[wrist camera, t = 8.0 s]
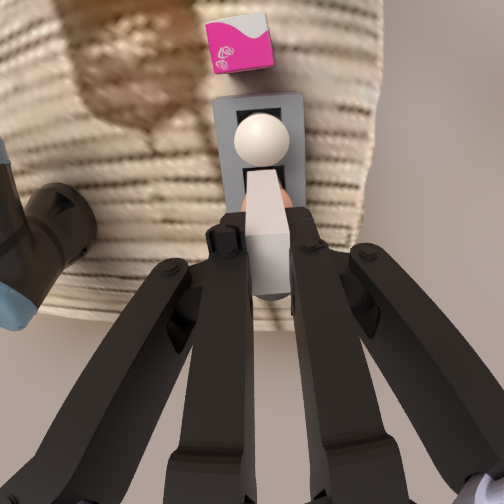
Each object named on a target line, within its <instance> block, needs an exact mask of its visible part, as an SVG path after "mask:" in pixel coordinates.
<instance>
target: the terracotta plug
mask: <svg viewBox="0 0 504 504" xmlns="http://www.w3.org/2000/svg"><path fill="white" fill-rule="evenodd" d="M274 169H275V168H274V167H272V166H265V167H255V168H254V169H253V170H252V171H260V170H274ZM275 170H276V169H275ZM276 174H277V178H278V183H279V187H280V191H281V196H282V200H283V204H284V208H287V207H293V205H292V201H291V198H290V196H289V194H288V193H287V191H286V190H285V189H283V188H282V184H281V180H280V176H279V173H278V171H277V170H276ZM246 195H247V193H246V194H245V196H244V198H243V201H242V210H241V212H245V211H246Z"/></svg>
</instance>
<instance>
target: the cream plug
mask: <svg viewBox="0 0 504 504" xmlns="http://www.w3.org/2000/svg"><path fill="white" fill-rule="evenodd" d="M234 144H235V148H236V151H237V153H238V155H239V156H240V157H241V158H242V159H243V160H244V161H245V162H247V163H249V164H251V165H253V166H258V167H265V166H270V165H273V164H275V163H277V162H278V161H280V160H281V159H282V158H283V157H284V156H285V154H286V152H287V150H288V147H289V134H288V131H287V129H286V128H285V126H284V124H283V123H282V122H281V121H280V120H279V119H278V118H276V117H275V116H272V115H271V114H270V113H269V112H267V111H265V110H254V111H252V112H250V113H249V114H248V115H247V116H246V118H245V119H244V120H243V121H242V122H241V123H240V124H239V126H238V128H237V130H236V133H235V137H234Z"/></svg>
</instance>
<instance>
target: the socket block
mask: <svg viewBox="0 0 504 504" xmlns="http://www.w3.org/2000/svg"><path fill="white" fill-rule="evenodd" d="M212 104H213V112H214V120H215V127H216V135H217V143H218V150H219V158H220V165H221V172H222V179H223V186H224V193H225V200H226V207H227V213H233V212H241V210H242V201H243V198H244V196H245V194H246V193H247V172H248V171H252V170H253V169H254V168H255V167H258V166H253V165H251V164H249V163H247V162H245V161H244V160H243V159H242V158H241V157H240V156H239V155H238V153H237V151H236V148H235V144H234V137H235V133H236V130H237V128H238V126H239V124H240V123H241V122H242V121H243V120H244V119H245V118H246V116H247V115H248V114H249V113H250V112H252V111H254V110H265V111H267V112H269V113H270V114H271V115H272V116H275V117H276V118H278V119H279V120H280V121H281V122H282V123H283V124H284V126H285V128H286V129H287V131H288V134H289V147H288V150H287V152H286V154H285V156H284V157H283V158H282V159H281V160H280V161H278V162H277V163H275V164H273V165H270V166H272V167H274V168H275V169H276V170H277V171H278V173H279V176H280V180H281V184H282V188H283V189H285V190H286V191H287V193H288V194H289V196H290V198H291V201H292V205H293V207H303V206H304V207H305V208H306V166H305V132H304V109H303V94H301V93H299V92H296V91H285V92H265V93H252V94H241V95H231V96H222V97H217V98H216V99H214V100H213V101H212Z"/></svg>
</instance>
